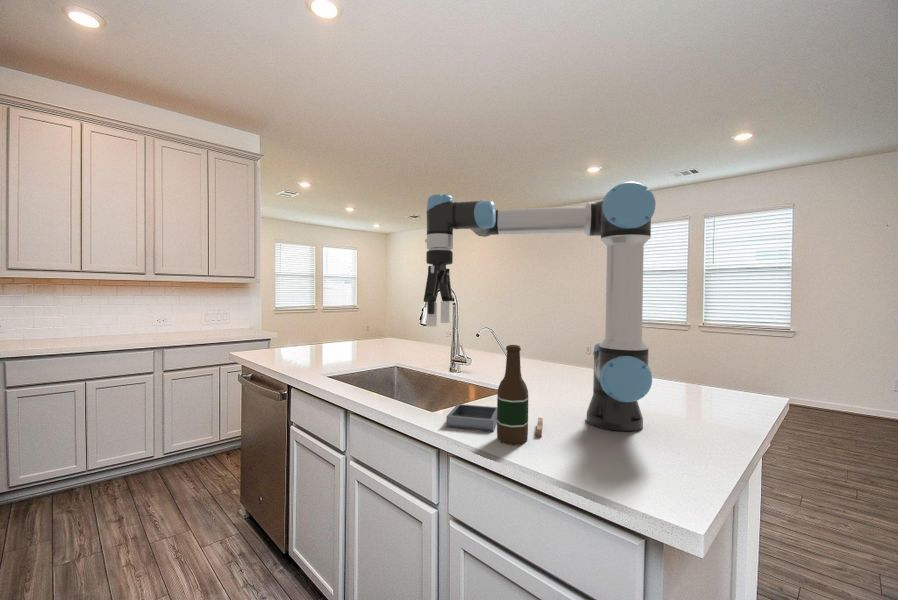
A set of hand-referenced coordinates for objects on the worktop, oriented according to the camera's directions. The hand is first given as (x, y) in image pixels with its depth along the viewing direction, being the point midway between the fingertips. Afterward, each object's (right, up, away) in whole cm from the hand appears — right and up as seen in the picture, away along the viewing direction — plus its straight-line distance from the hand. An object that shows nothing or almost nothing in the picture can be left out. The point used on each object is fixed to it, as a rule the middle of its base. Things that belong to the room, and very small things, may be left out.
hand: (438, 324), depth 116 cm
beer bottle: (+19, -29, -14) cm, 37 cm away
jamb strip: (+28, -28, -6) cm, 40 cm away
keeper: (+10, -28, 0) cm, 30 cm away
